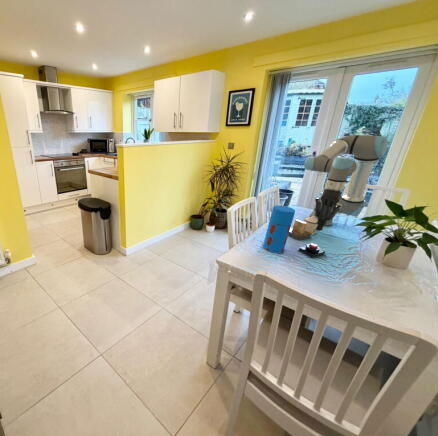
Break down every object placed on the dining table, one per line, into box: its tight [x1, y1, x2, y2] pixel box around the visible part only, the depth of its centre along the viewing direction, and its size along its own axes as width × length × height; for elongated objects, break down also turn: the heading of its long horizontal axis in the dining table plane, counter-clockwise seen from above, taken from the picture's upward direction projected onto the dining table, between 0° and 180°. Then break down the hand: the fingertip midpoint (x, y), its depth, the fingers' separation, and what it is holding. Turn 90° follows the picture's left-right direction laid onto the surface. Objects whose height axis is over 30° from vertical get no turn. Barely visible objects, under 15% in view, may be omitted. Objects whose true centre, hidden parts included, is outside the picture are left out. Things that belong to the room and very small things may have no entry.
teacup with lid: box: [303, 216, 318, 236], centre depth 154 cm, size 12×9×12 cm
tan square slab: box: [292, 219, 307, 234], centre depth 148 cm, size 7×2×7 cm, turn 20°
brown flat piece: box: [288, 227, 312, 241], centre depth 150 cm, size 12×11×3 cm
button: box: [309, 242, 319, 249], centre depth 128 cm, size 4×4×2 cm
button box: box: [298, 243, 326, 259], centre depth 129 cm, size 10×8×4 cm
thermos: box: [262, 204, 296, 254], centre depth 128 cm, size 11×11×25 cm
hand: (318, 230), depth 125 cm, fingers closed
